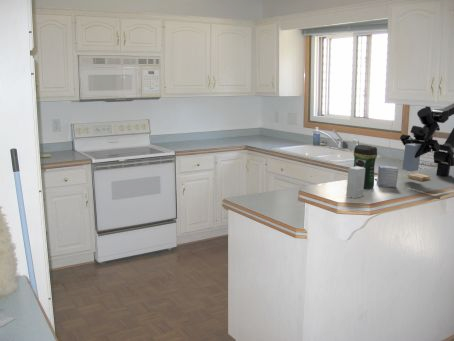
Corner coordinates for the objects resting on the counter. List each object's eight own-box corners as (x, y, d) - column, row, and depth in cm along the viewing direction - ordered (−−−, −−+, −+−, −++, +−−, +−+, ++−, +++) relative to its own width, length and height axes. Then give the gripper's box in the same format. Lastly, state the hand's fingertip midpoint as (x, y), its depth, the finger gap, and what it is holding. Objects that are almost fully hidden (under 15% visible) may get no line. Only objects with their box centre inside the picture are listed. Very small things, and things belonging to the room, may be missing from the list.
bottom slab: (415, 178, 241) (416, 175, 240) (430, 182, 234) (431, 179, 234) (406, 180, 236) (406, 177, 236) (421, 184, 230) (421, 181, 229)
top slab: (416, 176, 240) (416, 173, 239) (429, 179, 234) (429, 176, 234) (407, 177, 236) (408, 174, 235) (421, 180, 230) (421, 177, 230)
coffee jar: (376, 187, 216) (381, 146, 212) (366, 190, 211) (371, 147, 207) (357, 183, 223) (361, 142, 219) (347, 185, 217) (351, 144, 213)
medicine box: (394, 185, 222) (396, 166, 220) (396, 187, 218) (398, 168, 216) (376, 184, 223) (378, 165, 221) (378, 186, 219) (380, 167, 217)
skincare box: (354, 194, 204) (357, 165, 201) (362, 196, 201) (366, 167, 198) (345, 196, 200) (348, 167, 197) (354, 198, 197) (357, 169, 194)
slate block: (408, 168, 233) (411, 143, 230) (418, 170, 229) (421, 145, 226) (402, 169, 230) (405, 144, 227) (411, 171, 226) (414, 145, 223)
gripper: (404, 117, 234) (386, 141, 230) (440, 122, 219) (421, 148, 215) (412, 132, 240) (395, 156, 236) (447, 138, 225) (430, 164, 221)
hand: (410, 156), depth 227 cm, fingers closed on slate block, 5 cm apart
